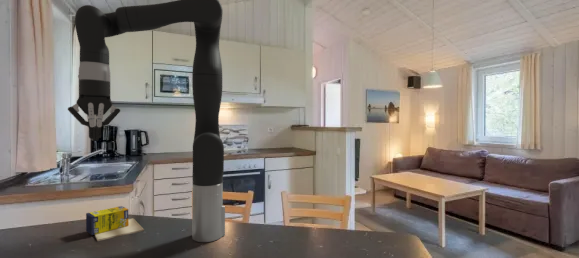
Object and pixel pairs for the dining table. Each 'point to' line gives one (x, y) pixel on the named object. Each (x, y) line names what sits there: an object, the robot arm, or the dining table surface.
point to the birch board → (120, 231)
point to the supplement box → (106, 220)
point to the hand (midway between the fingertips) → (95, 140)
